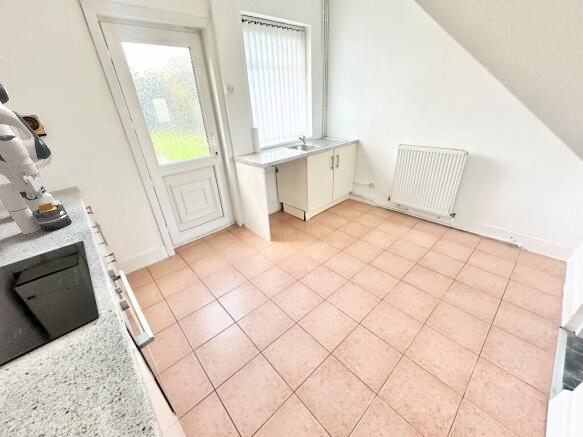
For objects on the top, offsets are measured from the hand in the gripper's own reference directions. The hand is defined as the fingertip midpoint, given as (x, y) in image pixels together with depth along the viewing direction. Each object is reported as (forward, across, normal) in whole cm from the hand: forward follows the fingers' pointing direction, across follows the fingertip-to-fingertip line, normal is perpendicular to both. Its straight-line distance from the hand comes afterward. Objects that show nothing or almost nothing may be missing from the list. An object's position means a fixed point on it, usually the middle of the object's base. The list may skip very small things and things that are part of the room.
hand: (41, 197), depth 121 cm
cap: (+8, 0, 0) cm, 8 cm away
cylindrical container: (+17, +4, +10) cm, 20 cm away
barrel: (+16, 0, 0) cm, 16 cm away
